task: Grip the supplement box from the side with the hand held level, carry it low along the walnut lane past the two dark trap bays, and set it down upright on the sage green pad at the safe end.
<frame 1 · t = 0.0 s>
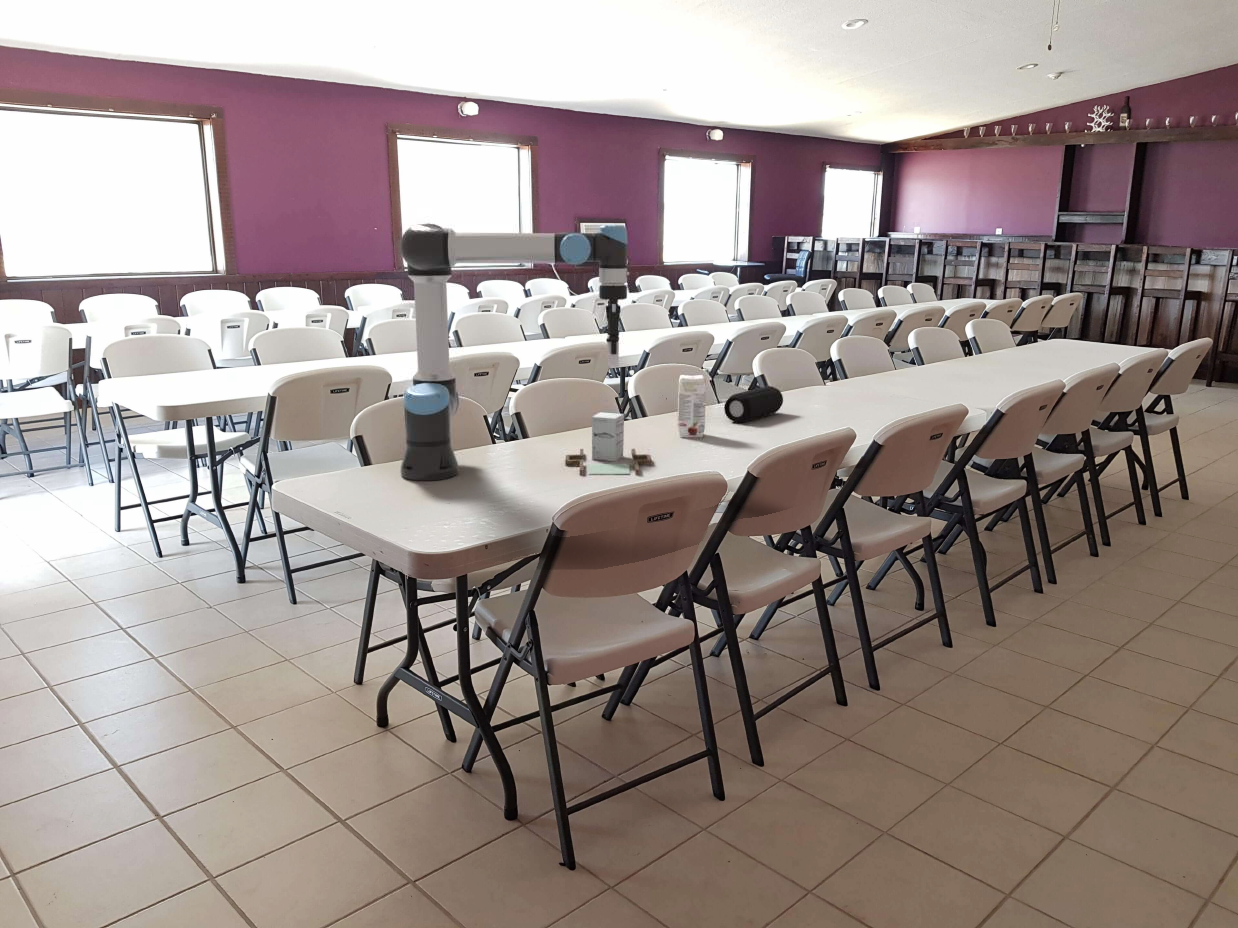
hand: (612, 362, 261), 28 cm above the table, tool pointing down, fingers open, 13 cm apart
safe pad: (609, 469, 258), on the table
juice carton: (690, 436, 300), on the table
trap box: (608, 464, 265), on the table
portable speaker: (753, 418, 328), on the table
supplement box: (607, 458, 271), on the table
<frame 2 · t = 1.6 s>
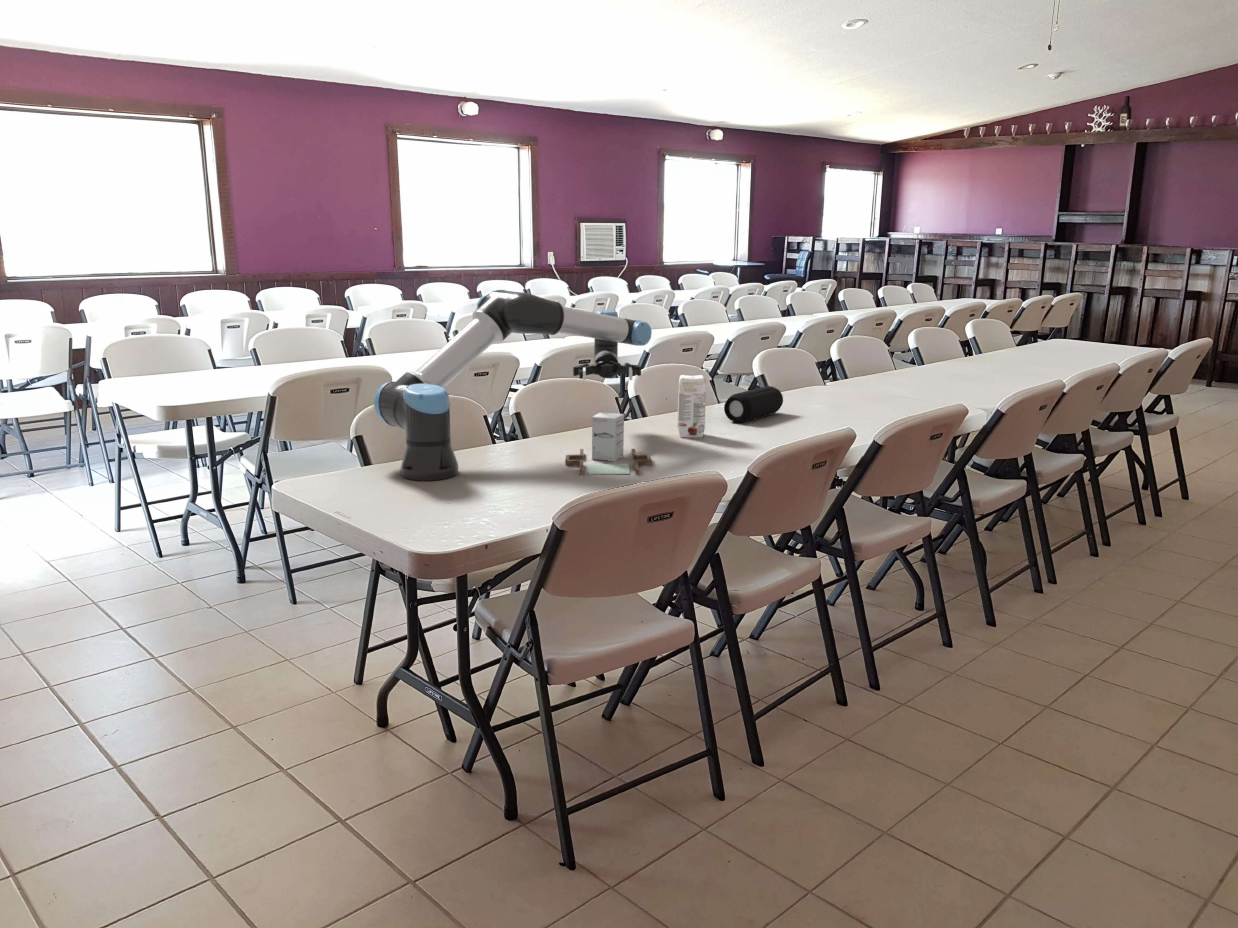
hand: (607, 375, 275), 22 cm above the table, tool horizontal, fingers open, 13 cm apart
nothing on the table moved.
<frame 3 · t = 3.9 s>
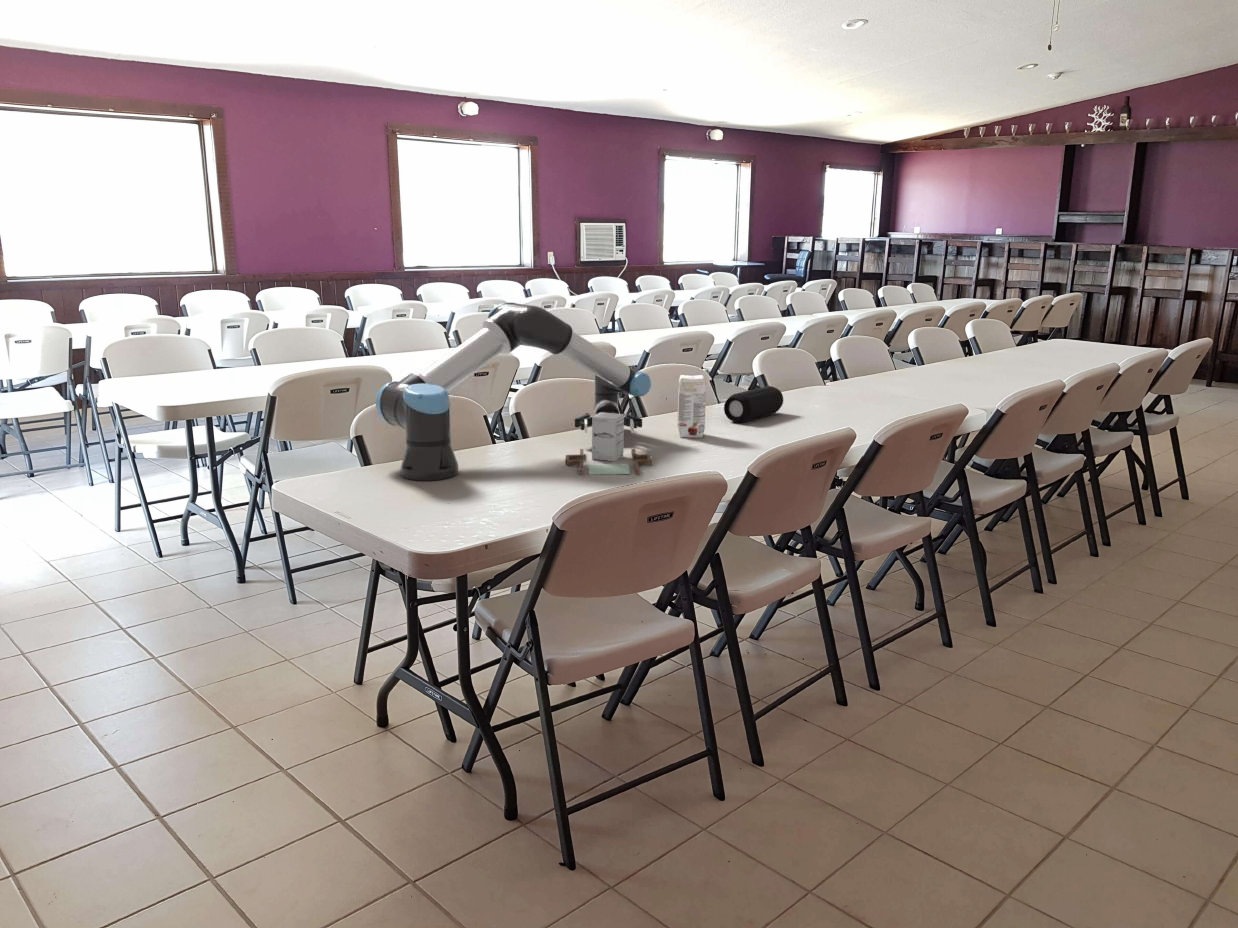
hand: (609, 428, 276), 7 cm above the table, tool horizontal, fingers open, 13 cm apart
nothing on the table moved.
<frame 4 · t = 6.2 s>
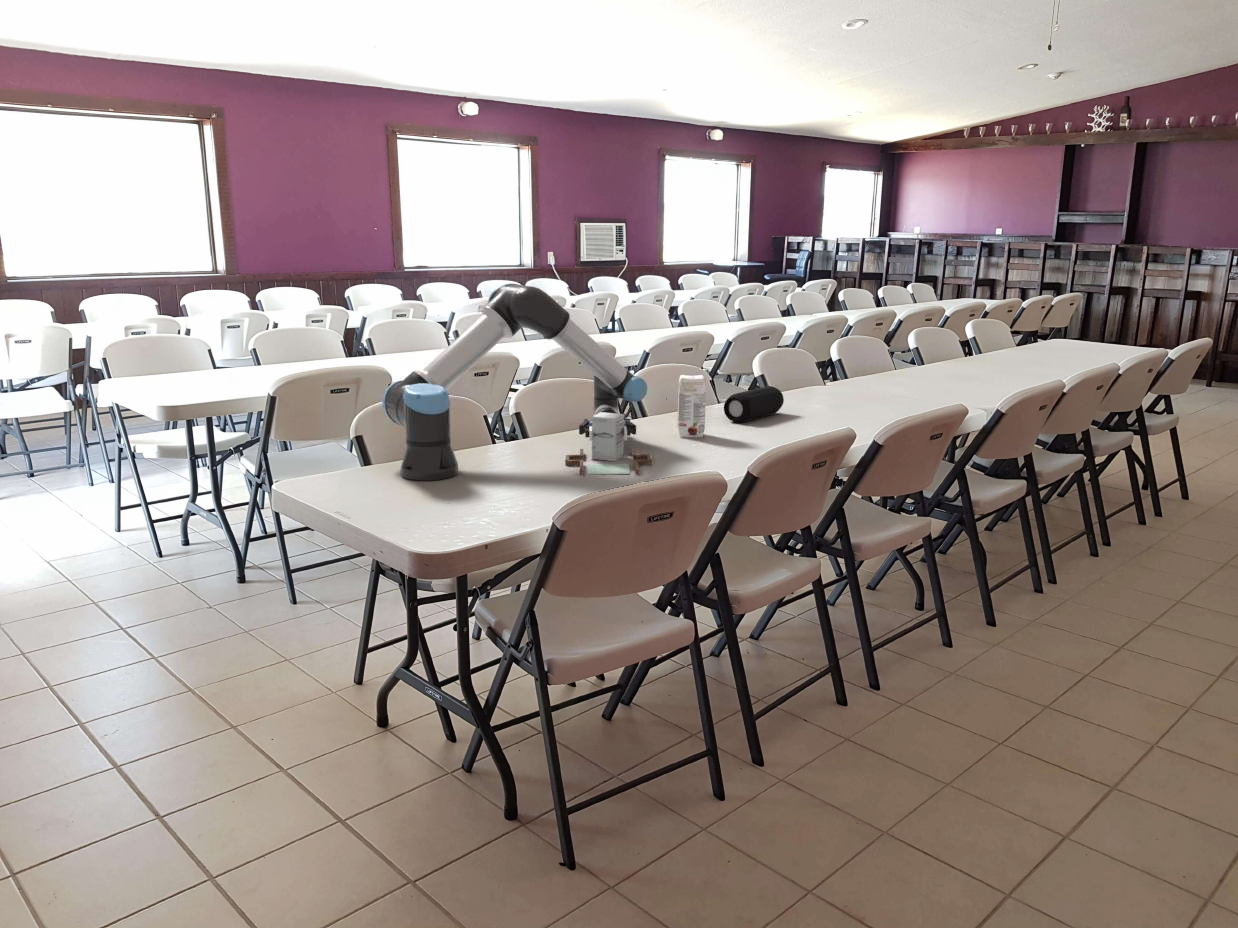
hand: (608, 435, 265), 8 cm above the table, tool horizontal, fingers closed on supplement box, 9 cm apart
supplement box: (607, 458, 271), on the table, touching gripper
everything else where it was.
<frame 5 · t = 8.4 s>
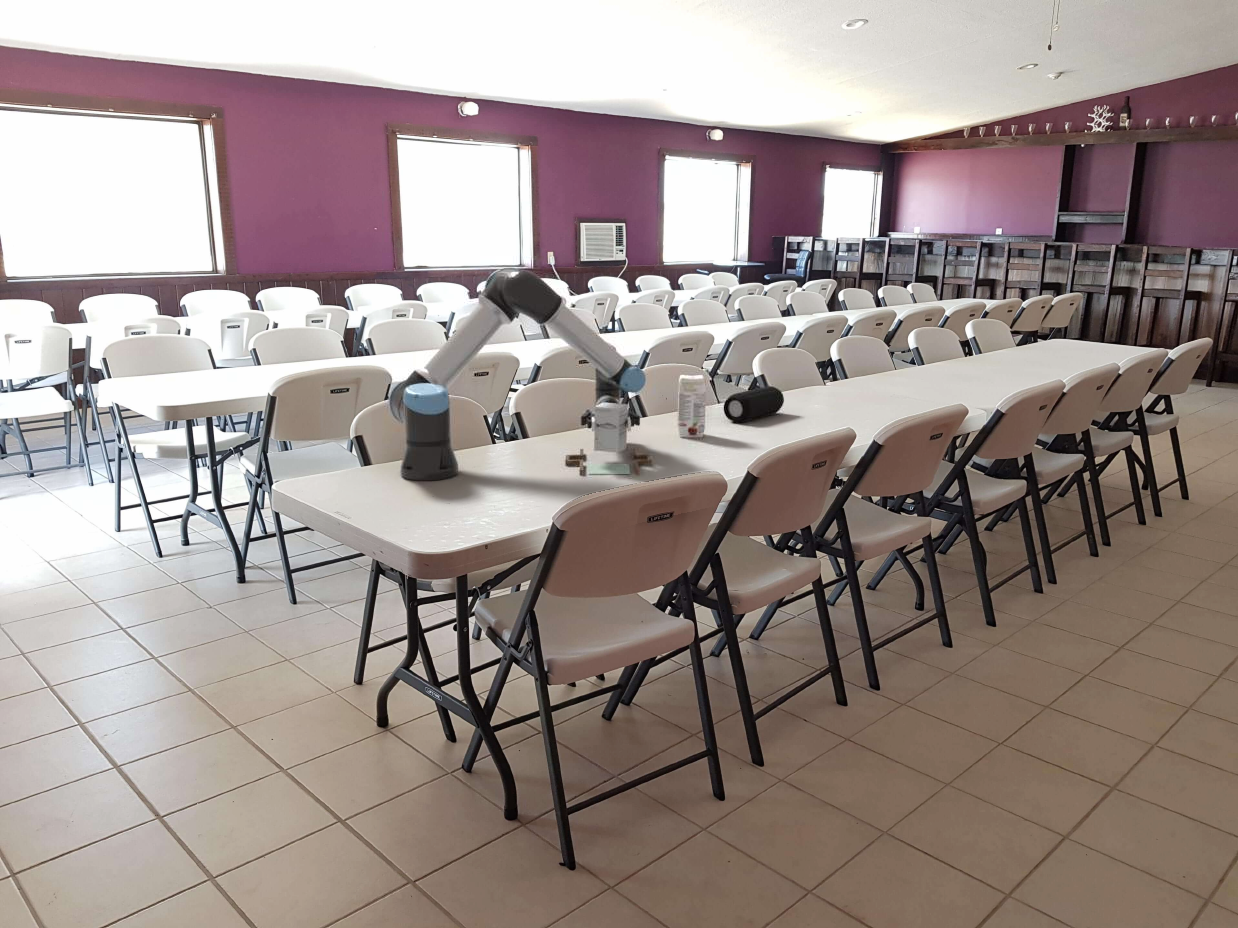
hand: (611, 426, 257), 12 cm above the table, tool horizontal, fingers closed on supplement box, 9 cm apart
supplement box: (610, 450, 263), point 4 cm above the table, touching gripper
everything else where it was.
when the fingers open (9 cm above the table, at t = 10.9 s): supplement box stays where it is, resting on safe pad.
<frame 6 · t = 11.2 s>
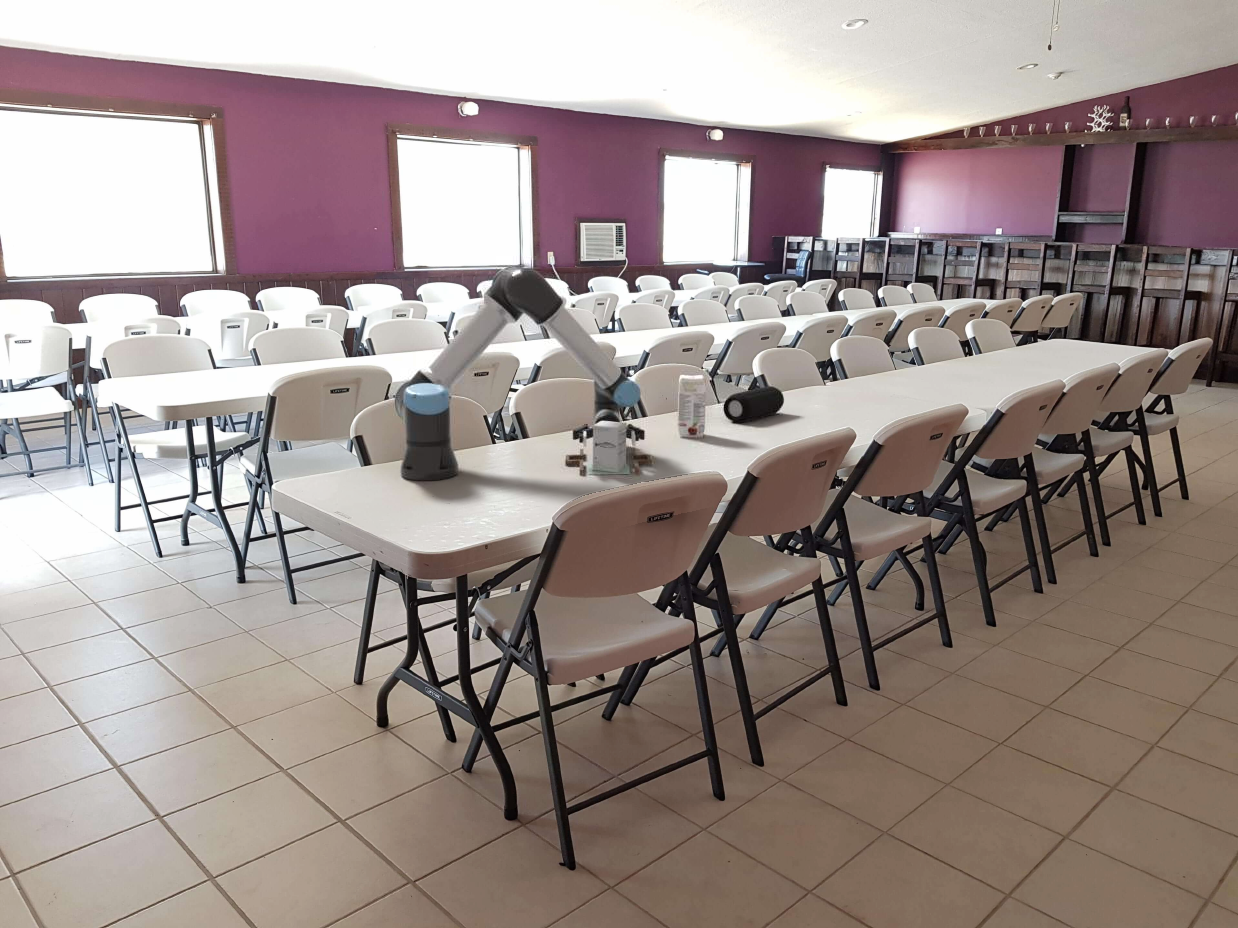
hand: (609, 441, 253), 9 cm above the table, tool horizontal, fingers open, 12 cm apart
supplement box: (609, 469, 258), resting on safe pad
everything else where it was.
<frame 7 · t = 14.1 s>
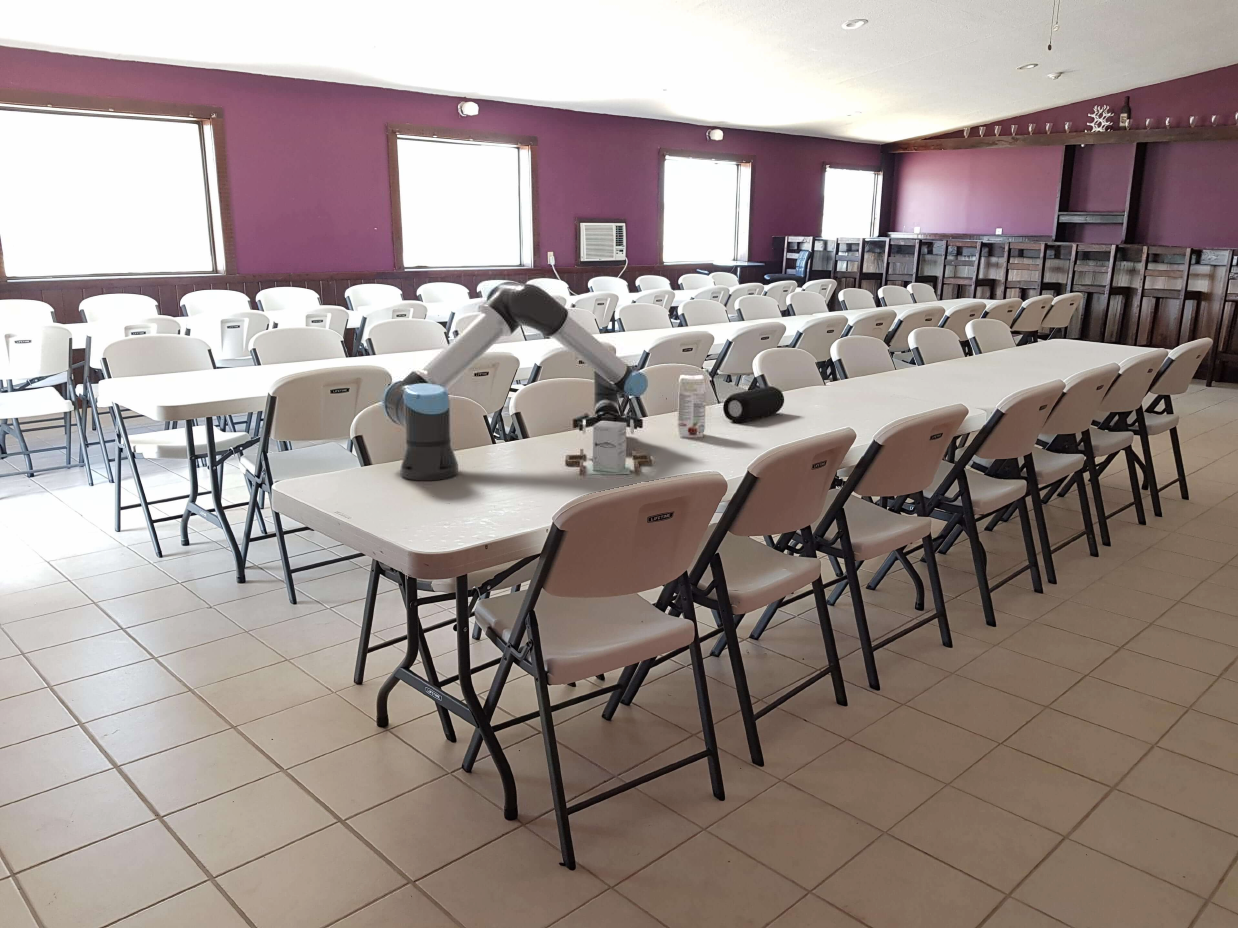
hand: (608, 429, 266), 9 cm above the table, tool horizontal, fingers open, 13 cm apart
nothing on the table moved.
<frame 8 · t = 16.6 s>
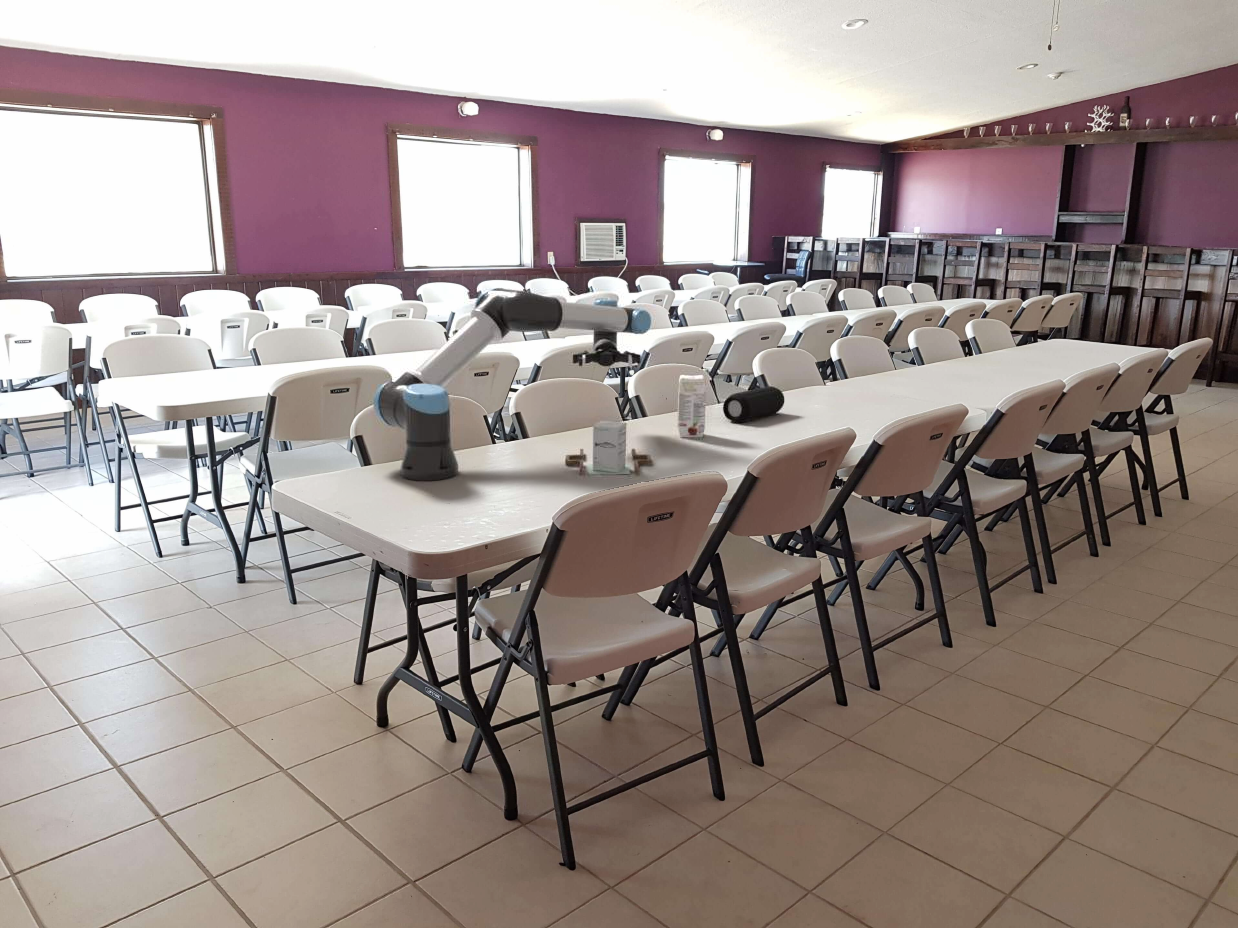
hand: (607, 362, 274), 26 cm above the table, tool horizontal, fingers open, 13 cm apart
nothing on the table moved.
at the end: supplement box inside the target area (0.1 cm from its centre), resting on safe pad; supplement box tilted 0°; the gripper is holding nothing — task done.
